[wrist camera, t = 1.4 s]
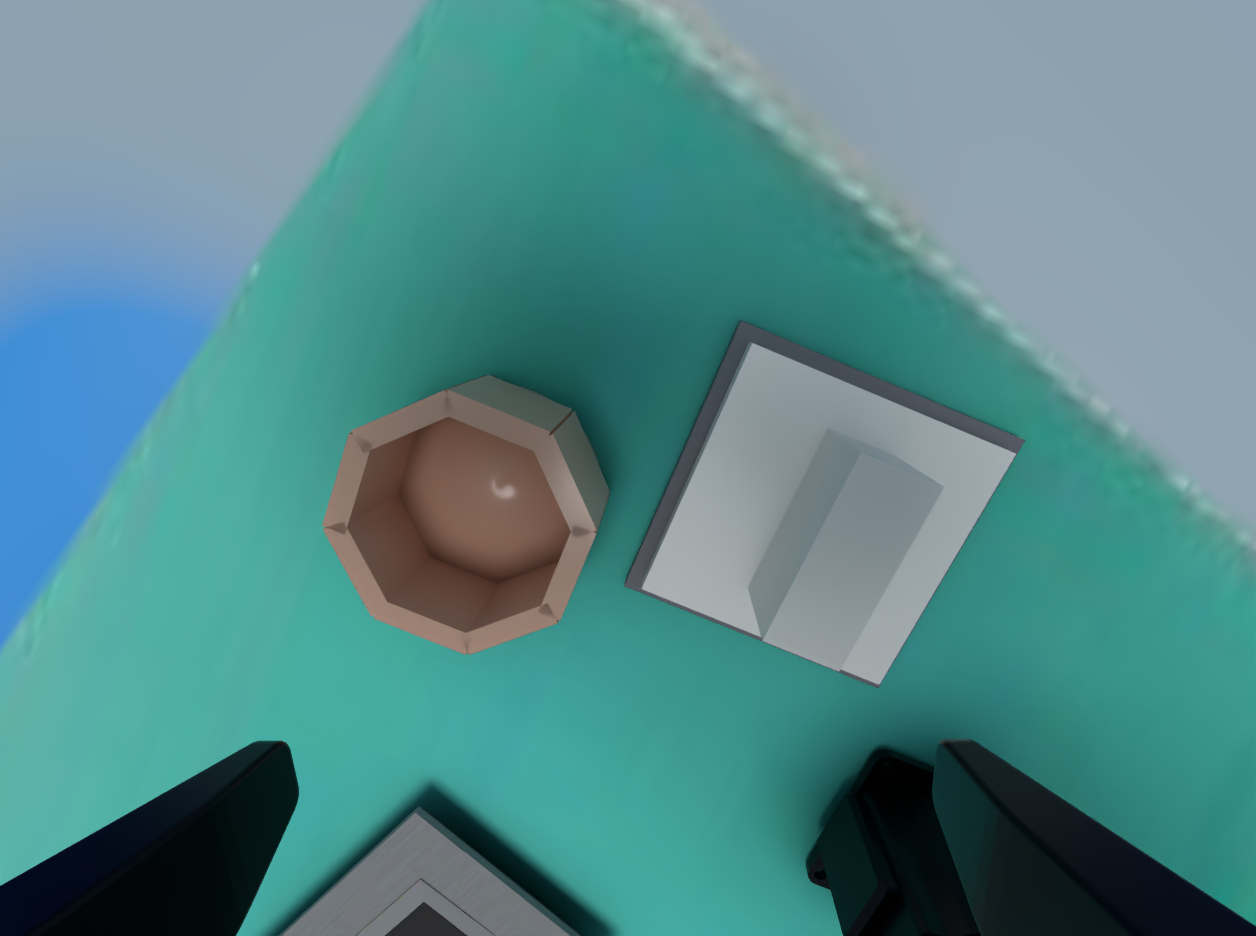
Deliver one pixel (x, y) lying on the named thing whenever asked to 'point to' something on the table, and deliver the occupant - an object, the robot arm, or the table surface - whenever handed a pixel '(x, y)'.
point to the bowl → (468, 513)
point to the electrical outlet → (427, 892)
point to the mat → (820, 363)
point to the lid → (821, 515)
